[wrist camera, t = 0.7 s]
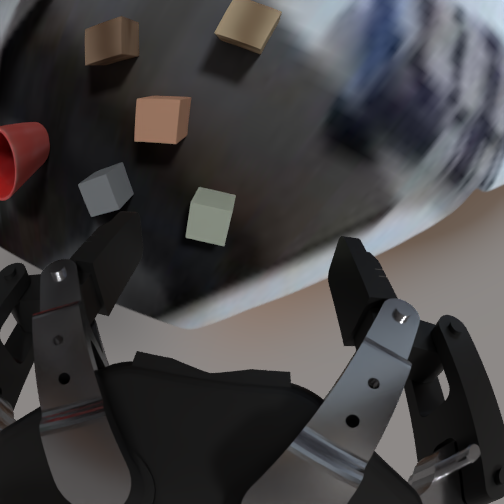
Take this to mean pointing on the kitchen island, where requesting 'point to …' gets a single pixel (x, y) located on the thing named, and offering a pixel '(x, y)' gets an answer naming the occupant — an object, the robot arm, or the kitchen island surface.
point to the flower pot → (21, 154)
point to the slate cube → (106, 190)
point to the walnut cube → (111, 41)
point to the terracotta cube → (162, 119)
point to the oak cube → (248, 25)
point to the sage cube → (210, 216)
